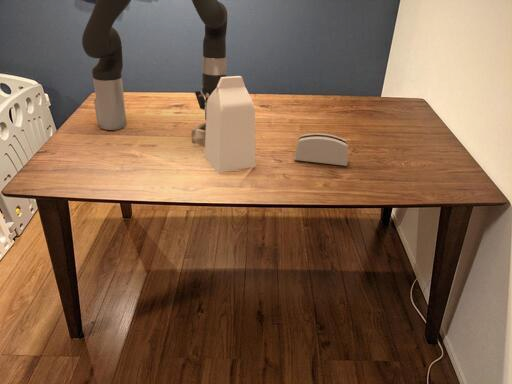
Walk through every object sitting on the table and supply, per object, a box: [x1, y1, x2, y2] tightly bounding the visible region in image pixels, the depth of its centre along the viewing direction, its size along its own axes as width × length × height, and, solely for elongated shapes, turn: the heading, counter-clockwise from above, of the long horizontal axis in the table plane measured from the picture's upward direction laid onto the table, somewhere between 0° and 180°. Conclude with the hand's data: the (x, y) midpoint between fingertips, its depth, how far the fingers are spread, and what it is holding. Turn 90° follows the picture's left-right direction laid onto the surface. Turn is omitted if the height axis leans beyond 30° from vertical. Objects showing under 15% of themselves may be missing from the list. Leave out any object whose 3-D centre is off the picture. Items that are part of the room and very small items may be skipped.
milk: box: [204, 75, 256, 174], centre depth 118 cm, size 12×12×26 cm
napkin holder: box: [293, 132, 349, 167], centre depth 125 cm, size 17×5×10 cm, turn 81°
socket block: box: [191, 121, 206, 147], centre depth 137 cm, size 10×12×5 cm
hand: (214, 123), depth 135 cm, fingers open, 3 cm apart
